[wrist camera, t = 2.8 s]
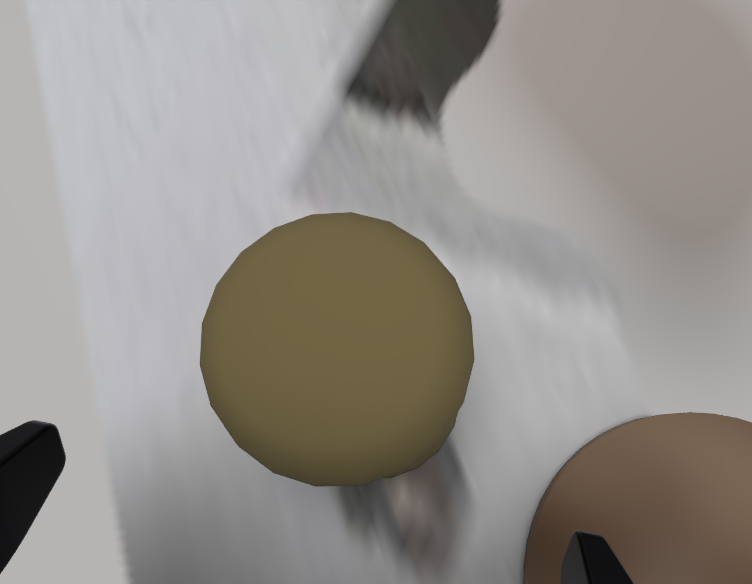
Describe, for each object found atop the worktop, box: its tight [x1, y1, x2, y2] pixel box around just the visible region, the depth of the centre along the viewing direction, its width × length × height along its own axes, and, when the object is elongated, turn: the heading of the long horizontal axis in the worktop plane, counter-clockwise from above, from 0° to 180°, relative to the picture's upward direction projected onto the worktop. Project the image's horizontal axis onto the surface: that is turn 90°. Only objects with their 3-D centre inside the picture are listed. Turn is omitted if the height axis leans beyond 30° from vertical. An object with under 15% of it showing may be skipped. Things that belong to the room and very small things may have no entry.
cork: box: [200, 212, 474, 486], centre depth 15 cm, size 6×6×11 cm
